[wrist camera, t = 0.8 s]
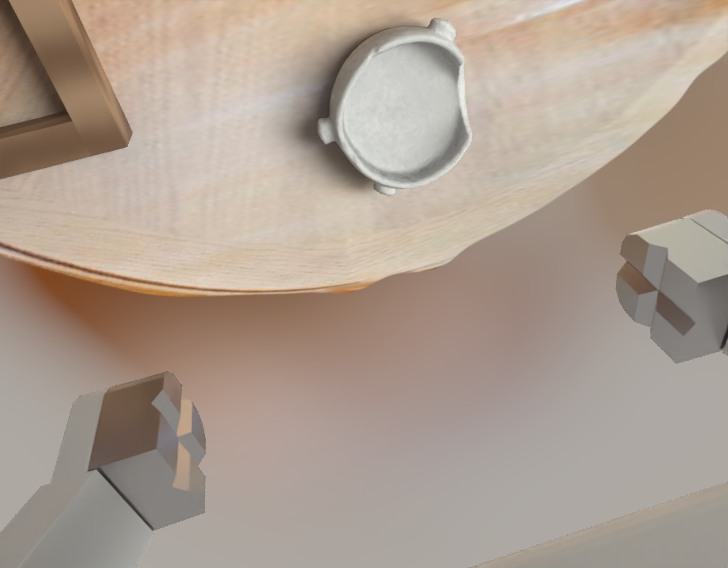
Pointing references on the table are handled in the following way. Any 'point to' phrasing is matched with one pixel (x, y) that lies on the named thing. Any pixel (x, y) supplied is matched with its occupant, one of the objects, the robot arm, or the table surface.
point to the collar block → (63, 95)
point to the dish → (401, 106)
